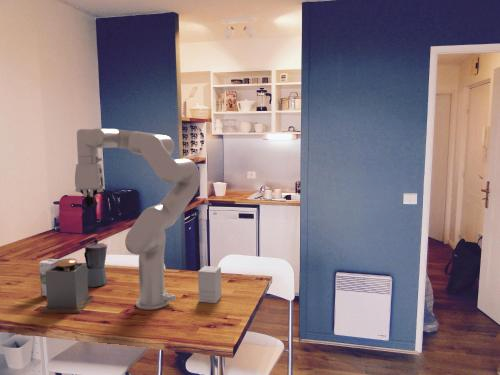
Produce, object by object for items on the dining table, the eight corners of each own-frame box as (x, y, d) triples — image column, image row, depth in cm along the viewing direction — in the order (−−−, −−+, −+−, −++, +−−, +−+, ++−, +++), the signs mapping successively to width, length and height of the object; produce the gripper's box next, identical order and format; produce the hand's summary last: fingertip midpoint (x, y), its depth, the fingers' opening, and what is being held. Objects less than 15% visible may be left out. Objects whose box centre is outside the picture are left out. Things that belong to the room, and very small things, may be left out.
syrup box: (62, 292, 176) (60, 259, 174) (52, 297, 170) (50, 263, 169) (51, 291, 178) (49, 257, 176) (40, 296, 172) (38, 261, 170)
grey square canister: (93, 298, 170) (92, 261, 168) (79, 312, 156) (77, 273, 154) (59, 298, 170) (57, 261, 168) (41, 312, 156) (39, 272, 154)
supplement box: (221, 296, 172) (221, 266, 170) (215, 303, 165) (215, 272, 163) (204, 295, 174) (204, 265, 172) (198, 301, 166) (197, 270, 165)
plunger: (82, 292, 166) (80, 258, 165) (74, 300, 159) (72, 264, 157) (62, 292, 166) (61, 258, 165) (53, 300, 159) (51, 264, 157)
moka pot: (114, 279, 193) (112, 236, 190) (98, 291, 178) (96, 245, 175) (94, 278, 194) (92, 236, 191) (77, 290, 179) (74, 244, 176)
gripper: (110, 160, 170) (111, 205, 172) (73, 160, 170) (75, 204, 172) (103, 161, 162) (105, 208, 165) (65, 161, 163) (67, 208, 165)
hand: (90, 206), depth 168 cm, fingers closed
